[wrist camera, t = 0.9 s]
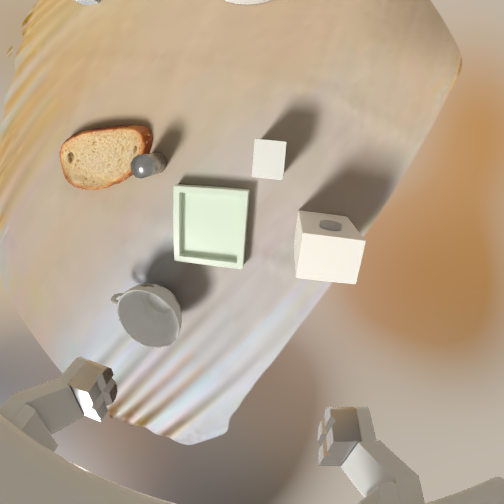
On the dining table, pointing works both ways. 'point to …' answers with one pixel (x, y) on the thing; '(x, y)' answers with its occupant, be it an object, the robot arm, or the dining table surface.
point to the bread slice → (103, 155)
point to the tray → (210, 225)
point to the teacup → (149, 314)
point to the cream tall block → (327, 248)
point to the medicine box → (87, 1)
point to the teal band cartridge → (269, 159)
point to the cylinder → (148, 164)
